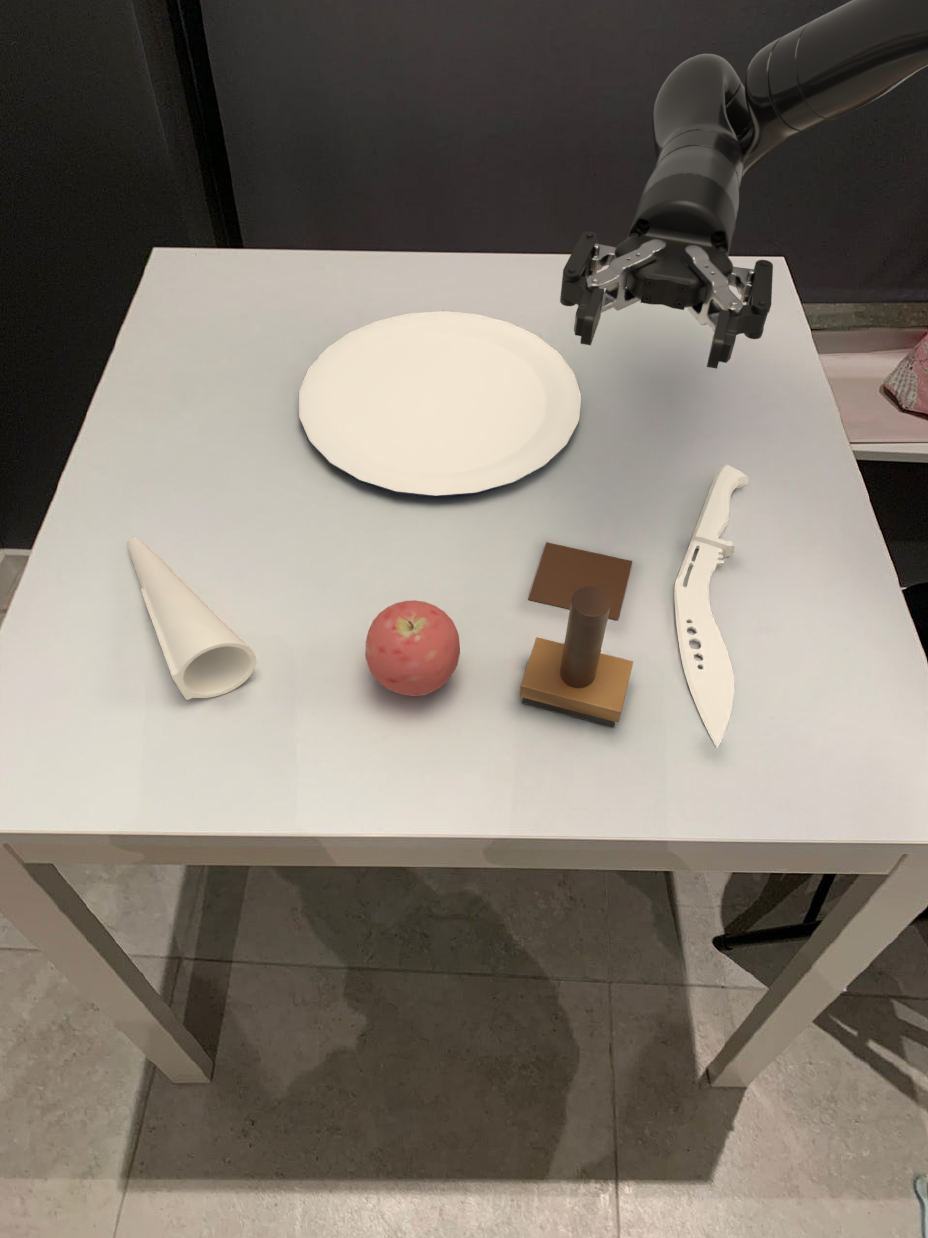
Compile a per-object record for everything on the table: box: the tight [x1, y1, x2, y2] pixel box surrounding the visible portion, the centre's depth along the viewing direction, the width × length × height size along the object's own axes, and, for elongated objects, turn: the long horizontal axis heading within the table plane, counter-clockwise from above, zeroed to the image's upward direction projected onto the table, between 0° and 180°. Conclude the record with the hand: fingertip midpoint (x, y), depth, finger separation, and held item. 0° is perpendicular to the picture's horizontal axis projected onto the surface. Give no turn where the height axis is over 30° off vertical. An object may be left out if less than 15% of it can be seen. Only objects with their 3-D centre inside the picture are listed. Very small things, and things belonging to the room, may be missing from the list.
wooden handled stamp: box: [519, 586, 634, 728], centre depth 71 cm, size 8×5×12 cm, turn 73°
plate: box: [298, 310, 582, 498], centre depth 97 cm, size 29×29×2 cm
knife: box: [673, 464, 749, 749], centre depth 81 cm, size 30×2×8 cm
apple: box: [365, 599, 461, 697], centre depth 73 cm, size 7×7×8 cm
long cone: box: [127, 536, 257, 701], centre depth 79 cm, size 6×6×19 cm
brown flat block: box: [527, 541, 633, 621], centre depth 83 cm, size 8×7×1 cm
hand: (650, 345), depth 61 cm, fingers open, 8 cm apart
